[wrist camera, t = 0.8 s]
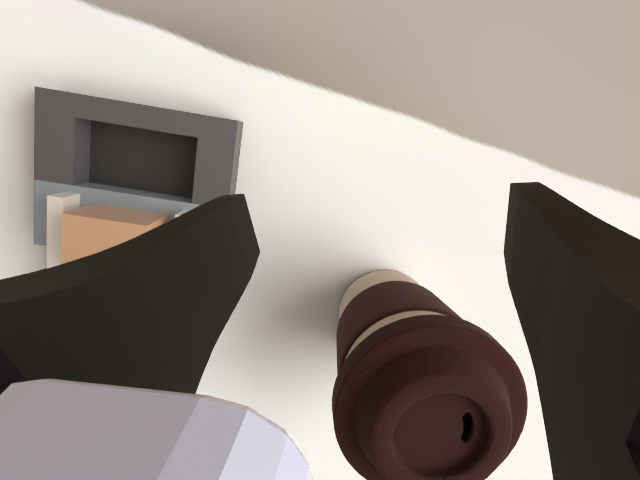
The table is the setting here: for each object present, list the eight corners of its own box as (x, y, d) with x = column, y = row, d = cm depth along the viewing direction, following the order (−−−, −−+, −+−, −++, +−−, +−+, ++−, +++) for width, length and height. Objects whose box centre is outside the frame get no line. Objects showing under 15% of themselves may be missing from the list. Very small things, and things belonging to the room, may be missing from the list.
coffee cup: (298, 329, 34) (296, 471, 19) (365, 228, 32) (417, 302, 17) (397, 384, 35) (463, 554, 21) (465, 291, 34) (590, 406, 19)
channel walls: (191, 279, 30) (184, 288, 28) (63, 261, 29) (46, 270, 27) (198, 211, 29) (190, 216, 27) (64, 191, 28) (47, 195, 26)
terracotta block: (164, 268, 30) (143, 288, 26) (92, 258, 29) (60, 276, 25) (168, 214, 29) (147, 225, 25) (94, 203, 28) (61, 213, 24)
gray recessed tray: (227, 260, 32) (220, 269, 30) (54, 235, 31) (34, 243, 29) (243, 122, 30) (237, 120, 27) (57, 91, 29) (34, 86, 26)
